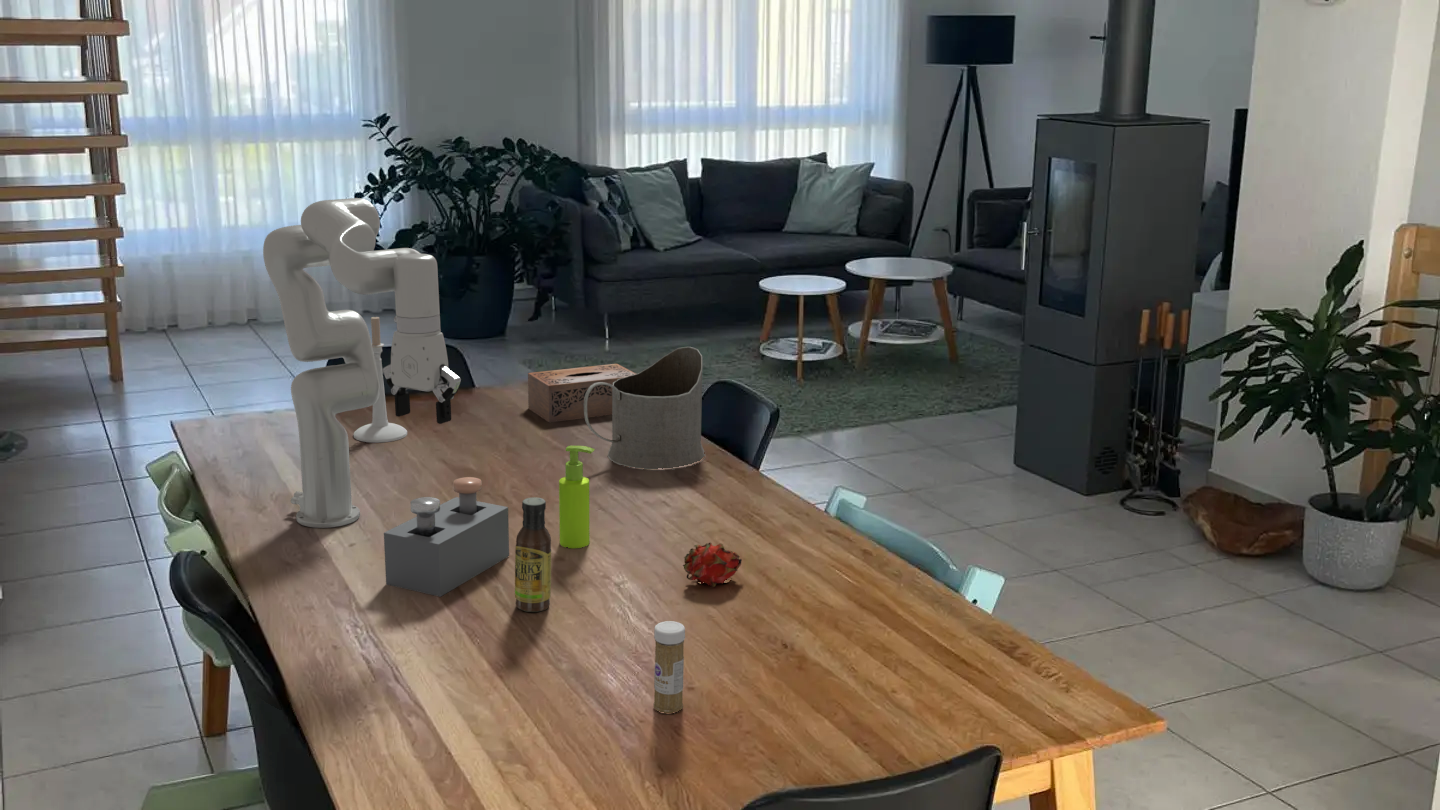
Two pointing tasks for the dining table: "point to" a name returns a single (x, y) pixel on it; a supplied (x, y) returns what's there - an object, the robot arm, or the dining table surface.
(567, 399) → the tissue box cover
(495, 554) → the button box
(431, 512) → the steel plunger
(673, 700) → the sprinkles bottle
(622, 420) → the pitcher
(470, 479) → the terracotta plunger
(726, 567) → the dragon fruit
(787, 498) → the dining table surface
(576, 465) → the soap dispenser
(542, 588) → the sauce bottle
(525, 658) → the dining table surface
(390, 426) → the candlestick
